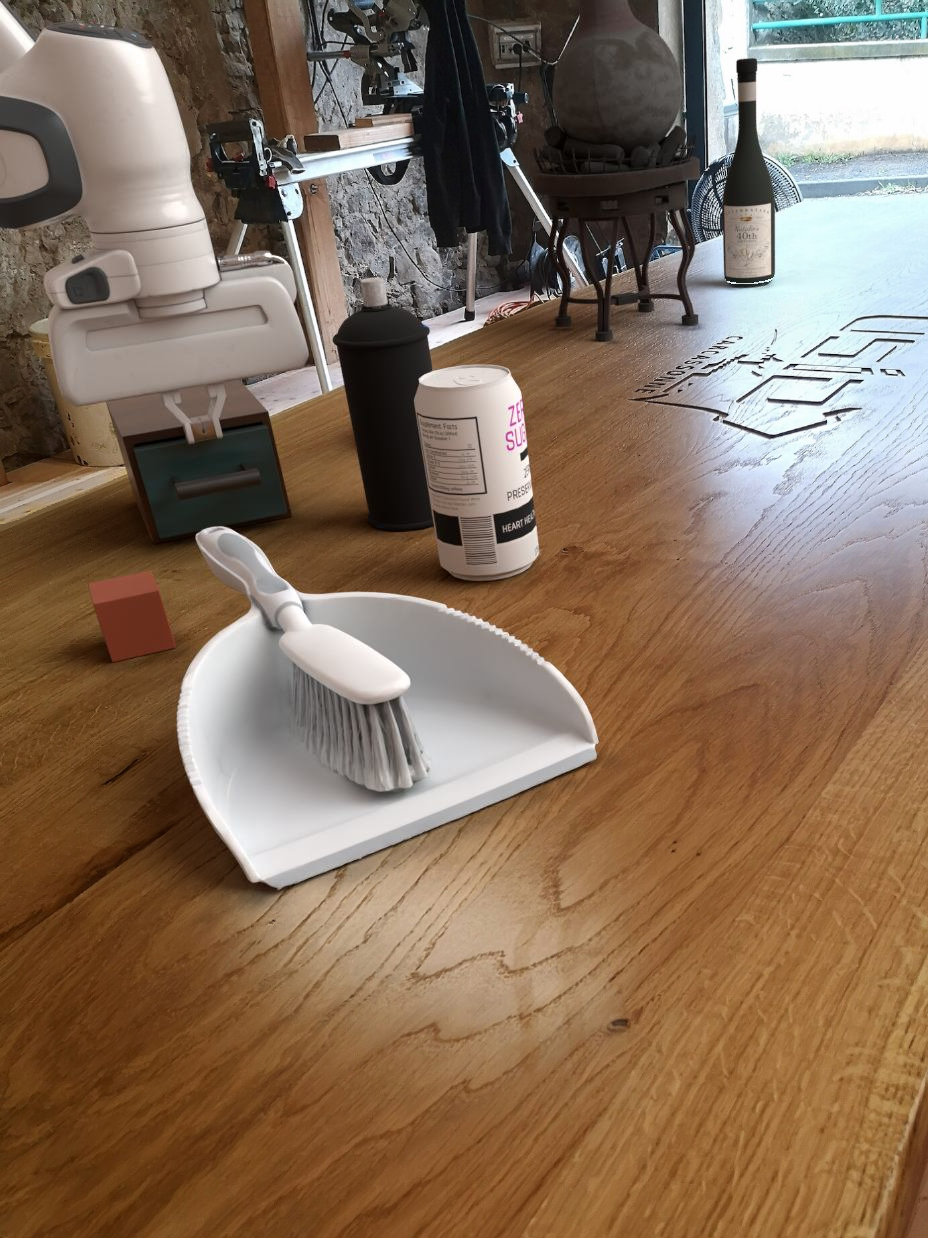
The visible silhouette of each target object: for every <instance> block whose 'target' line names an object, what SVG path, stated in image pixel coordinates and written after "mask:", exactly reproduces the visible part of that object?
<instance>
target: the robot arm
mask: <svg viewBox="0 0 928 1238" xmlns="http://www.w3.org/2000/svg"><path fill="white" fill-rule="evenodd" d="M178 107H179V106H178V104H177V101H176V98H175V95H174V91H173V87H172V85H171V83H170V79H169V76H168V74H167V72H166V69H165V67H164V64H163V62H162V59H161V58H160V56H159V53H158V52H157V50H156V49H155V47H154V46H153V44H152V43H151V42H150V41H149V40H148V39H146V38H145V37H144V36H143V35H142V34H140V33H138V32H136V31H134V30H131V29H128V28H126V27H121V26H116V25H110V24H109V25H108V24H101V23H93V22H92V23H91V22H89V23H85V22H84V23H83V22H79V21H60V22H55V23H51V24H50V25H47V26H45V27H44V28H43V29H42V30H41V32H40V33H39V35H38V37H37V36H36V35H35V34H34V33H33V31H32V30H31V29H30V28H29V27H28V26H27V24H26V23H25V22H24V20H22V19H21V17H20V16H19V15H18V13H16V12H15V10H14V9H13V8H12V7H11V5H10V4H9V3H8V2H7V1H6V0H0V228H1V229H8V230H9V229H10V230H18V231H20V230H21V231H28V230H34V229H38V228H43V227H46V226H51V225H55V224H60V223H63V222H66V221H69V220H72V219H75V218H82V219H83V220H84V222H85V223H86V225H87V228H88V231H89V234H90V237H91V241H92V245H93V246H92V247H91V248H89V249H88V250H86V251H84V252H81V253H80V254H77V255H75V256H73V257H72V258H70V259H68V260H66V261H64V262H62V263H60V264H58V265H56V266H54V267H52V268H50V269H49V270H48V271H46V273H45V274H44V277H43V286H44V290H45V292H46V295H47V297H48V299H49V301H50V302H51V303H52V304H53V307H52V308H51V309H50V310H49V313H48V316H47V335H48V343H49V349H50V354H51V355H50V356H51V360H52V364H53V369H54V373H55V377H56V381H57V386H58V387H59V391H60V395H61V397H62V398H63V399H64V400H65V401H67V402H68V403H69V404H71V405H72V406H74V407H84V406H85V407H86V406H91V405H96V404H101V403H106V402H109V401H114V400H120V399H126V398H132V397H138V396H144V395H150V394H156V393H160V396H161V399H162V402H163V403H164V405H165V406H166V408H167V409H168V410H169V411H170V412H171V413H172V414H173V415H174V416H175V417H176V418H177V419H178V420H179V421H180V422H181V423H182V425H183V429H184V433H185V436H186V439H187V442H188V443H189V444H194V443H199V442H204V441H210V440H216V439H221V438H223V434H222V431H221V427H220V423H219V419H218V418H220V415H221V412H222V408H223V405H224V402H225V398H226V392H225V388H224V384H223V382H226V381H232V380H243V379H249V378H255V377H260V376H266V375H274V374H278V373H285V372H290V371H295V370H296V371H297V370H301V369H303V368H304V367H305V365H306V364H307V361H308V359H309V356H310V353H309V348H308V345H307V340H306V336H305V332H304V330H303V327H302V324H301V320H300V318H299V315H298V313H297V310H296V307H295V305H294V304H295V302H296V300H297V296H298V288H297V284H296V278H295V274H294V271H293V270H294V269H293V268H292V266H291V265H290V263H289V262H288V261H287V260H286V259H285V258H284V257H282V256H280V255H276V254H272V253H271V251H270V250H256V251H253V252H250V253H242V254H241V253H240V254H238V253H237V254H235V253H234V254H227V255H219V256H216V255H215V252H214V247H213V243H212V239H211V235H210V231H209V227H208V223H207V218H206V215H205V212H204V209H203V207H202V205H201V203H200V201H199V199H198V198H197V197H198V196H196V193H195V189H194V186H193V181H192V175H191V153H190V149H189V143H188V141H187V136H186V133H185V129H184V126H183V121H182V119H181V118H182V117H181V115H180V111H179V108H178ZM273 261H276V262H278V263H273ZM203 385H204V387H205V391H206V393H207V394H208V395H209V397H211V402H210V406H209V410H208V413H207V415H205V416H200V417H194V418H188V417H187V416H186V415H185V414H184V413H183V411H182V410H181V409H180V408H179V407H178V406H177V405H176V404H179V403H181V398H180V394H179V389H185V388H191V387H197V386H203ZM175 403H176V404H175Z"/></svg>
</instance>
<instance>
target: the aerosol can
mask: <svg viewBox="0 0 928 1238" xmlns="http://www.w3.org/2000/svg"><path fill="white" fill-rule="evenodd" d="M359 283H360V289H361V294H362V300H363V305H364V306H362V307H361V308H360V310H357V311H356V312H354V313H351V314H350V315H349V316H348V317H346V318H345V319H344V320H343V321H342V323H341V325H339V328H338V330H337V333H335V334H334V335H333V336H332V341H331V342H332V343H333V344H334V345H335V346H336V349H337V355H338V360H339V365H340V370H341V376H342V381H343V386H344V391H345V397H346V402H347V408H348V413H349V418H350V422H351V428H352V431H353V438H354V444H355V450H356V455H357V459H358V465H359V470H360V474H361V475H360V476H361V479H362V485H363V490H364V496H365V500H366V505H367V511H368V513H367V515H366V520H367V522H368V524H369V525H370V526H372V527H373V528H376V529H379V530H384V531H396V532H397V531H398V532H399V531H400V532H401V531H414V530H421V529H426V528H430V527H434V522H433V516H432V510H431V503H430V497H429V491H428V485H427V479H426V472H425V466H424V460H423V454H422V448H421V442H420V435H419V429H418V423H417V417H416V411H415V404H414V398H415V395H416V392H417V389H418V386H419V378H420V377H422V376H423V375H425V374H427V373H430V372H432V371H434V369H433V363H432V356H431V350H430V343H429V337H428V336H429V334H430V333H431V328H430V327H429V326H428V325H426V324H424V323H423V322H422V320H420V319H419V318H418V317H417V316H416V315H415V314H413V313H412V312H410V311H409V310H406V309H404V308H400V307H396V306H393V305H392V304H390V303H388V296H387V290H386V284H385V278H383V277H380V276H379V277H377V276H375V277H367V278H363V279H361V280H360V281H359Z"/></svg>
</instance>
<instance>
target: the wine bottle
mask: <svg viewBox="0 0 928 1238" xmlns="http://www.w3.org/2000/svg"><path fill="white" fill-rule="evenodd" d="M735 70H736V71H735V72H736V74H737V75H736V76H737V104H738V105H737V109H738V111H737V112H738V128H737V129H738V131H737V140H736V144H735V149H734V151H733V152H734V153H733V156H732V160H731V163H730V165H729V168H728V172H727V176H726V178H725V183H724V187H723V193H722V204H721V205H722V207H721V209H722V210H721V211H722V246H723V247H722V249H723V279H724V280H725V279H726V281H730V282H736V283H754V282H759V281H765V280H768V279H771V278H773V277H775V276H774V275H776V198H775V191H774V186H773V185H774V184H773V180H772V177H771V174H770V172H769V168H768V165H767V163H766V160H765V158H764V155H763V151H762V149H761V145H760V139H759V135H758V127H757V125H758V124H757V72H758V59H757V58H756V57H755V58H754V57H749V58H739V59H736V61H735ZM773 279H774V278H773ZM726 281H725V282H726ZM772 281H773V280H771V281H769V282H764V283H758V284H731V283H727V285H730V286H732V287H739V288H740V287H745V288H746V287H747V288H749V287H759V286H764V285H768V284H770V283H771V282H772Z"/></svg>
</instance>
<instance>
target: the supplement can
mask: <svg viewBox="0 0 928 1238" xmlns="http://www.w3.org/2000/svg"><path fill="white" fill-rule="evenodd" d="M520 389H521V388H520V387H519V386H518V383H516V381H515V380H514V378H513V376H512V373H511V370H510V369H509V368H508V367H505V366H502V365H496V364H480V363H479V364H477V363H476V364H464V365H456V366H449V367H443V368H439V369H435V370H433V371H432V372H430V373H427V374H425V375H423V376H422V377H420V378H419V386H418V389H417V392H416V395H415V398H414V404H415V411H416V417H417V423H418V429H419V435H420V442H421V448H422V454H423V460H424V466H425V472H426V479H427V485H428V491H429V497H430V503H431V510H432V516H433V522H434V526H433V527H434V535H435V540H436V546H437V550H438V559H439V565H440V567H441V568H443V569H444V570H445V571H446V572H448V573H449V574H450V575H452V576H453V577H455V578H456V579H461V580H464V581H473V582H474V581H476V582H483V581H496V580H501V579H508V578H511V577H513V576H516V575H519V574H521V573H523V572H525V571H526V570H528V569H530V568H531V566H532V564H533V563H534V561H535V560H537V558H538V556H539V555H540V547H539V546H540V545H539V537H538V528H537V519H536V511H535V502H534V493H533V485H532V477H531V476H532V475H531V468H530V467H531V466H530V460H529V449H528V441H527V440H528V439H527V431H526V423H525V413H524V406H523V398H522V391H521V390H520Z"/></svg>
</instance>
